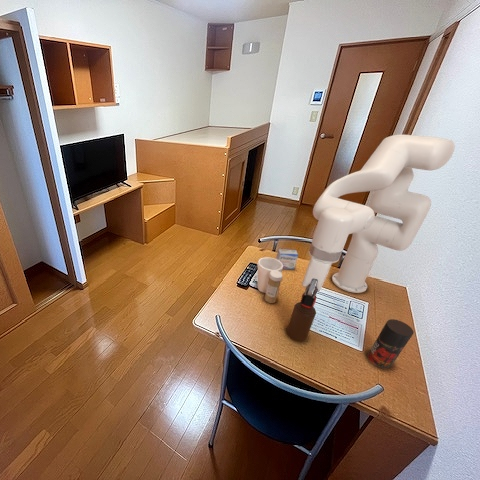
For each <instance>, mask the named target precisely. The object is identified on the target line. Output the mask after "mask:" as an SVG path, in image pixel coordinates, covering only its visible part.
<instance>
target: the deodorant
mask: <svg viewBox="0 0 480 480" xmlns="http://www.w3.org/2000/svg"><path fill="white" fill-rule="evenodd" d="M413 335H414V330H413V328H412V327H411V326H410V325H408V324H407V323H406V322H403V321H401V320H400V319H399V320H398V319H394V318H393V319H388V320H386V321H385V324H384V326H383V327H382V329H381V331H380V333H379V334H378V336H377V338H376V340H375V341H374V343H373V344H372V346H371V347H370V349H369V351H368V353H367V359H368V361H370V363H371V364H372V365H373V366H375V367H378V368H380V369H383V370H388V369H390V368H391V367H392V366H393V364H394V363H395V361H396V360H397V358H399V355H400V354H401V353H402V351H403V350H404V348H405V347H406V345H407V344H408V342H409V341H410V340H411V338H412V337H413Z"/></svg>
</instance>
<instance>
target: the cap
mask: <svg viewBox="0 0 480 480" xmlns="http://www.w3.org/2000/svg"><path fill="white" fill-rule="evenodd" d="M304 293H305V291H304V292H303V293H302V296H301V299H300V301H301V300H302V297H303V294H304ZM315 297H316V298H315V300H314V303H313V306H312V307H314V306H315V305H316V301H317V294H316V295H315ZM302 305H303V304H302ZM303 306H305V307H307V308H312V307H308V306H306V305H303Z"/></svg>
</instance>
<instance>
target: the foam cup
mask: <svg viewBox="0 0 480 480" xmlns="http://www.w3.org/2000/svg"><path fill="white" fill-rule="evenodd" d="M256 266H257V282H256V283H257V290H258V291H259V292H261V293H264V294H266V289H267V285H268V281H269V274H270V272H271V271H279V272H281V273H282V272H283V270H284V269H283V264H282V263H281V262H280V261H279V260H277V259H276V257H275V258H274V257H269V256H264V257H261V258H259V259H258V261H257V265H256Z"/></svg>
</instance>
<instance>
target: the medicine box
mask: <svg viewBox="0 0 480 480" xmlns="http://www.w3.org/2000/svg"><path fill="white" fill-rule="evenodd" d="M298 257H299V253H298V251H297V250H296V249H288V248H286V249H285V248H278V249H277V253H276V257H275V259H277V260H279V261H280V262H281V263H282V264H283V269H282V270H295V268H296V265H297V261H298V259H299V258H298Z"/></svg>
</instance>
